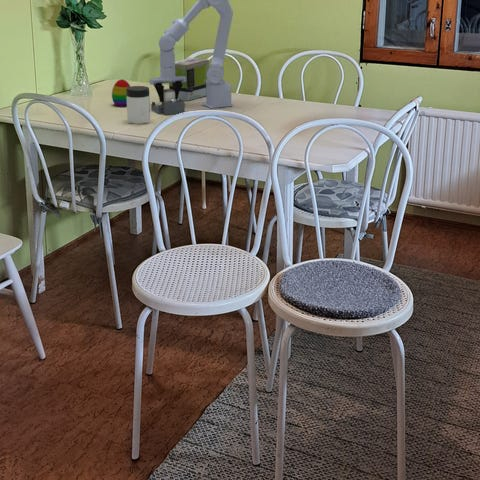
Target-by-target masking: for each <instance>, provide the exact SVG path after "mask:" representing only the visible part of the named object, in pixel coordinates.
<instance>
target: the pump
mask: <svg viewBox="0 0 480 480" xmlns="http://www.w3.org/2000/svg"><path fill="white" fill-rule="evenodd" d="M163 97H164V101H169V99H175V91H174V90H173V89H169V88H164V92H163Z"/></svg>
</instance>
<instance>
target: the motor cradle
mask: <svg viewBox="0 0 480 480" xmlns="http://www.w3.org/2000/svg"><path fill="white" fill-rule="evenodd" d="M150 111H152V112H155V113H156V114H158V115H161V114H162V115H163V114H164V116H171V114H172V115H178V114H177V113H181V112H186V111H185V101H184V100H178V99H169V101H164V102H162V103H161V105H158V104H156V101H152V102H151V103H150Z"/></svg>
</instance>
